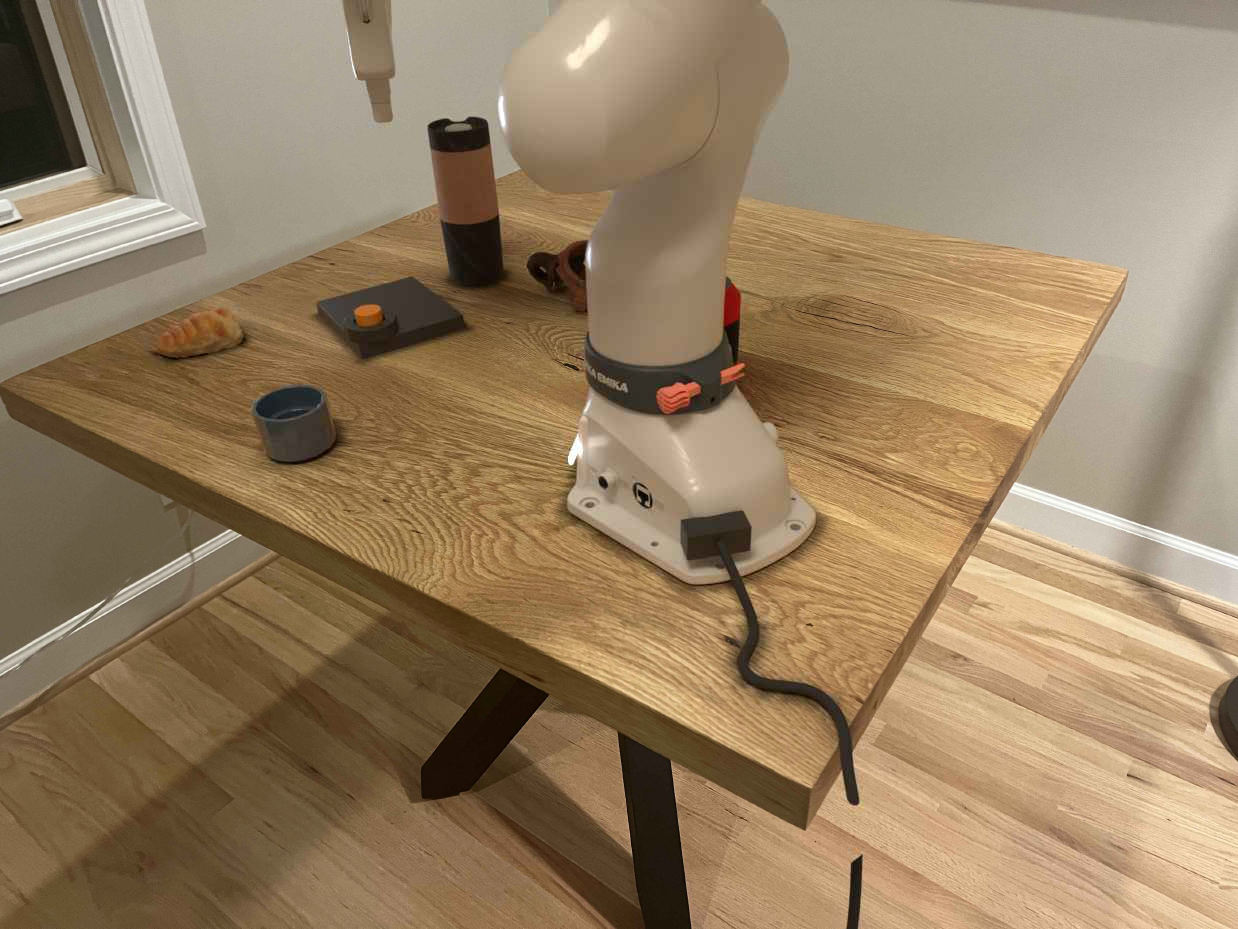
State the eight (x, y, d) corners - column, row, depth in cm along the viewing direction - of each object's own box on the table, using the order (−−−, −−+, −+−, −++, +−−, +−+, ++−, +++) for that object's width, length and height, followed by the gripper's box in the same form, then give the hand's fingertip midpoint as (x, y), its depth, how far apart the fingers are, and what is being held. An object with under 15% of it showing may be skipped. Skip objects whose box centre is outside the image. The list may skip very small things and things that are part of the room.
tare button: (387, 323, 104) (384, 310, 103) (362, 330, 102) (359, 317, 101) (377, 314, 106) (375, 301, 105) (353, 321, 104) (350, 308, 104)
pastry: (168, 368, 103) (157, 338, 101) (151, 348, 107) (141, 319, 105) (249, 343, 108) (240, 313, 105) (230, 325, 112) (221, 296, 110)
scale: (466, 330, 108) (463, 303, 106) (360, 363, 102) (354, 335, 100) (414, 289, 119) (410, 264, 117) (315, 316, 113) (309, 290, 111)
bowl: (346, 450, 88) (336, 405, 85) (277, 474, 85) (263, 429, 82) (323, 420, 92) (312, 377, 90) (256, 442, 89) (243, 398, 86)
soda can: (677, 412, 91) (678, 303, 85) (655, 377, 97) (654, 273, 91) (747, 400, 93) (753, 292, 86) (721, 367, 99) (725, 263, 92)
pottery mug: (615, 281, 120) (629, 239, 113) (609, 338, 116) (623, 298, 109) (526, 263, 119) (534, 219, 111) (516, 320, 114) (525, 278, 107)
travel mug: (477, 292, 117) (457, 134, 106) (437, 280, 121) (413, 126, 110) (517, 273, 122) (501, 120, 111) (477, 261, 126) (458, 113, 115)
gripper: (396, -38, 75) (419, 134, 83) (391, -63, 91) (411, 83, 99) (317, -35, 73) (349, 139, 81) (326, -60, 90) (352, 87, 98)
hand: (383, 108), depth 90 cm, fingers open, 8 cm apart
